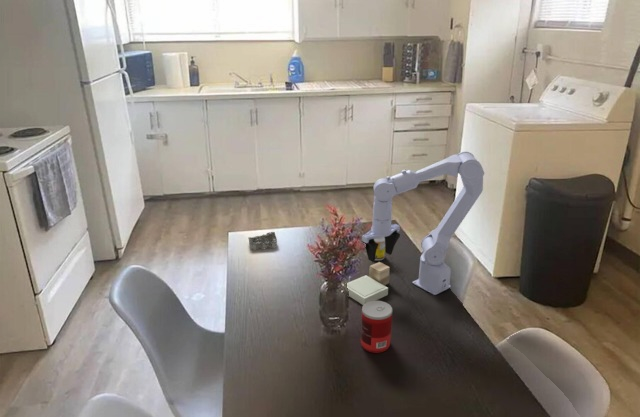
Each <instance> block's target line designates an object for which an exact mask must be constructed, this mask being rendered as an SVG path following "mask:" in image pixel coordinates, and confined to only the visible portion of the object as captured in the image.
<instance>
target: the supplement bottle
mask: <svg viewBox="0 0 640 417" xmlns="http://www.w3.org/2000/svg"><path fill="white" fill-rule="evenodd" d="M374 241H375V242H376V243H378V244H379V245H378V247H377V250H376V255H375V261H382V260H384V259H385V258H386V252H385V237H379V238H376V239H374Z"/></svg>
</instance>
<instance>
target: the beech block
mask: <svg viewBox="0 0 640 417" xmlns="http://www.w3.org/2000/svg"><path fill="white" fill-rule="evenodd" d="M368 273H369V275H368V277H370V278H372V279H374V280H375V281H377V282H379V283H381V284H382V285H384V286H386V285H389V283H390V282H389V281H390V266H388V265H386V264H384V263H383V262H380V261H378V262H376V263H373V264H371V265H369V271H368Z"/></svg>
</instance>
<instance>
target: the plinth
mask: <svg viewBox="0 0 640 417" xmlns="http://www.w3.org/2000/svg"><path fill="white" fill-rule="evenodd" d="M346 283H347V288H348V291H349V296H348V297H350V298H351V299H353V300H354V301H356V302H358V303H359V304H361V305H362V306H363V305H364V304H366V303H367V302H370V301H379V300H380V299H382V298H384V297H386V296H388V295H389V287H387V286H386V285H382V284H381V283H379V282H377V281H375V280H374V279H372V278H370V277H369V275H366V274H365V275H363V276H361V277H358V278H356V279H353V280H351V281H349V282H346Z"/></svg>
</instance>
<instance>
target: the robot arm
mask: <svg viewBox="0 0 640 417" xmlns="http://www.w3.org/2000/svg"><path fill="white" fill-rule="evenodd" d="M458 174H459V175H460V179H461V181H462V182H461V183H462V185H463V187H462V189H461V190H460V191H459V193H458V194H457V196H456V197H455V199H454V201H453V203H451V205H450V207H449V208H448V209H447V211H446V213H445V215H444V216H443V218H442V219H441V221H440V222H439V224H438V225H437V227H436V228H435V229H432V230H431V231H430V233H429V234H427V235H426V236H425V237H423V238H422V239H421V241H420V247H421V249H422V254H421V256H420V257H419V259H420V260H419V270H418V271H419V272H418V278H417V279H416V280H413V281H412V285H415V286H416V287H418V288H420V289H422V290H424V291H425V292H428V293H430V294H432V295H433V296H436V295H438V294H440V293H443V292H444V291H447V290H448V289H450V288H451V274H452V270H451V267H450V266H449V265H447V264H446V263H445V260H446V254H447V252H448V249H449V246H450V241H451V239H452V237H453V235H454V234H455V233H456V231H457V230H458V228H459V227H460V226H461V224H462V222H463V220H465V218H466V217H467V215H468V213H469V212H471V209H472V207H473V206H474V205H475V203H476V201H477V200H478V198H480V196H481V194H482V193H483V190H484V176H485V171H484V168H483V166H482V164H481V162H480V161H478V160H477V158H476V157H475V155H474V154H473V153H472V152H469V151H461V152H459V153H458V154H457V153H454V154H452V155H450V156H448V157H446V158H444V159H441V160H439V161H437V162H435V163H433V164H430V165H427V166H426V167H423V168H421V169H418V170H417V171H415V170H412V169H408V170H406V169H402V170H401V172H399V173H397V174H394V175H392V176H391V175H387V176H386V178H383V177H382V178H378V179H377V180H376V181H375V182H374V183H373V184H374V185H373V187H372V188H373V189H372V190H373V192H374V193H373V194H374V196H373V203H372V204H373V205H372V206H373V207H372V226H370V230H369V231H368V232H366V233H364V234H362V236H361V243H362V242H363V243H365V244H366V247H365V246H364V248H365V250H366V254H367V258H368V260H369V261H370V262H372V263H373V262H375V261H376V260H375V255H376V250H377V247H378V245H379V244H378V243H376V242H375V241H374V239H376V238H379V237H385V254H387V255H389V256H390V255H392V254H393V251H394V248H395V246H396V243H397V241H398V240H399V238H401V234H400V233H399V232H400V225H399V224H397V223H394V224H393V223H392V215H393V214H392V213H393V203H392V201H393V198H394V196H397V195H400V194H402V193H403V194H404V193H405V192H408V191H410V190H414V189H416V188H418V186H419V183H422V182H425V181H427V180H431V179H433V178H437V177H440V176H443V175H448V176H452V177H454V178H459V177H458ZM363 243H362V244H363Z"/></svg>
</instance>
